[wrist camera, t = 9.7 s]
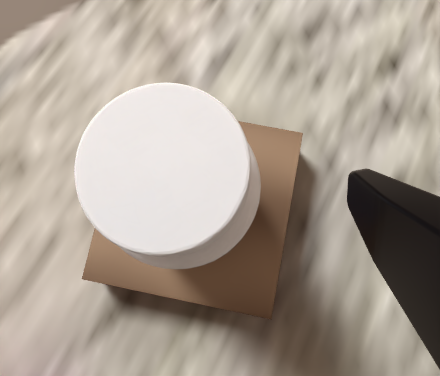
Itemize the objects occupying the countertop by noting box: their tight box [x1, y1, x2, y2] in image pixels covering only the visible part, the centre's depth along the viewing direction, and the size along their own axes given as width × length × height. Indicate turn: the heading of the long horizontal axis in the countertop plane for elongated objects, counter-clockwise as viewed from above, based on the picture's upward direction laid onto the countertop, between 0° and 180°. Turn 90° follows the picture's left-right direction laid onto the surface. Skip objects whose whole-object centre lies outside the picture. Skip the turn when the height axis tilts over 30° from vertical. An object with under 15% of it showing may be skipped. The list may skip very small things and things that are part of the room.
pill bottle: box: [74, 83, 261, 269], centre depth 14 cm, size 6×6×10 cm
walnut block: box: [82, 121, 303, 319], centre depth 20 cm, size 10×10×2 cm
